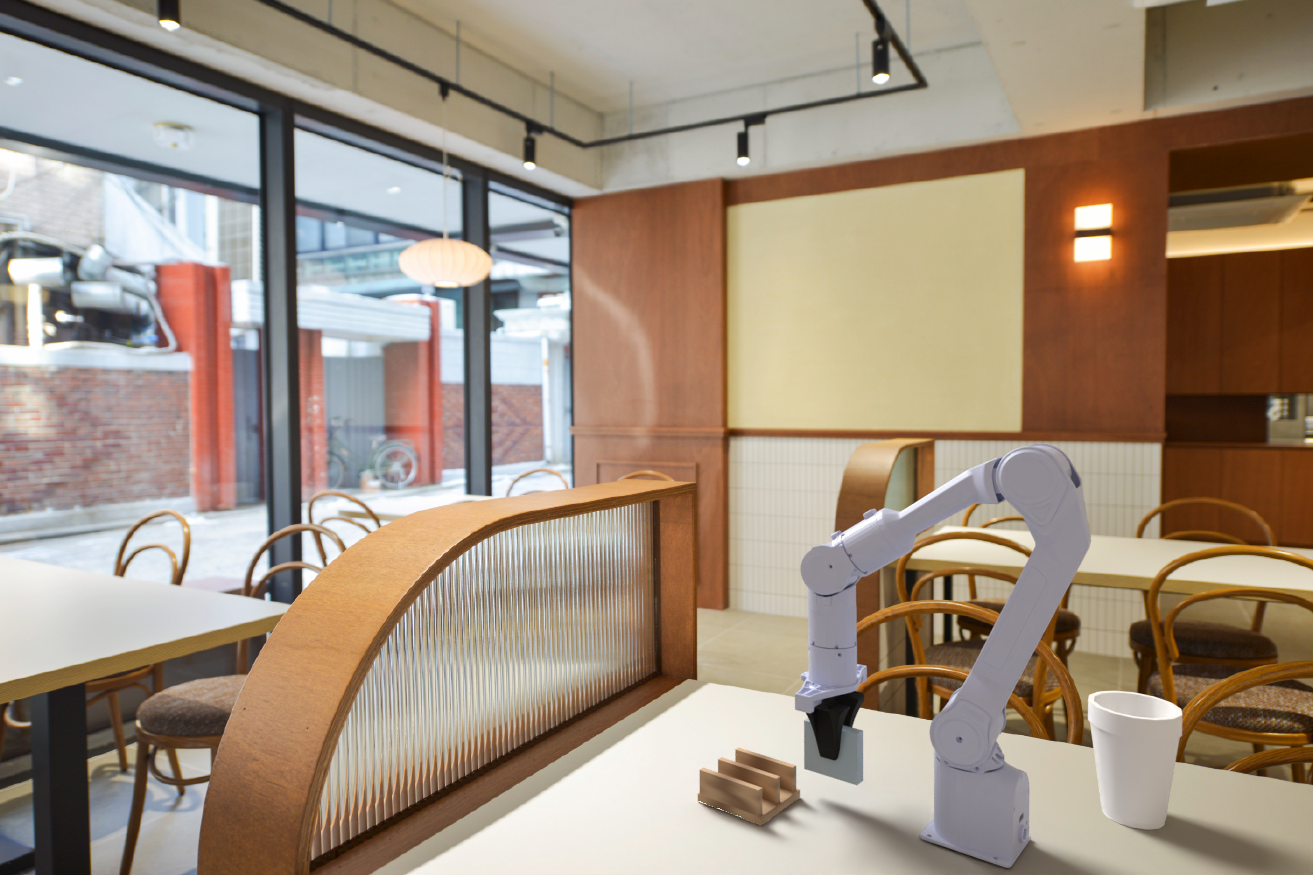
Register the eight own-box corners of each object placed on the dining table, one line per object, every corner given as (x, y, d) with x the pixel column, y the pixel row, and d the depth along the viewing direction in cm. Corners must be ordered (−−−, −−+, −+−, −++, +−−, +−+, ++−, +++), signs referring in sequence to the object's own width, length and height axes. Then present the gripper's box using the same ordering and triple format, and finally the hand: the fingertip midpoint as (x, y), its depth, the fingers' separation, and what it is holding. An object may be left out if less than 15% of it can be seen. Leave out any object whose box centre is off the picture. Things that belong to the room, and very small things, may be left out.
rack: (800, 797, 98) (800, 764, 98) (760, 825, 91) (760, 790, 91) (738, 776, 104) (738, 745, 104) (697, 801, 97) (697, 768, 97)
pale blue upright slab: (863, 780, 95) (863, 730, 95) (857, 785, 94) (857, 734, 94) (810, 764, 100) (810, 716, 99) (804, 768, 98) (804, 720, 98)
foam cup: (1068, 804, 96) (1069, 696, 96) (1125, 791, 99) (1126, 686, 99) (1141, 843, 87) (1142, 724, 87) (1201, 827, 90) (1202, 713, 90)
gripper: (831, 625, 105) (831, 728, 105) (771, 650, 93) (772, 765, 94) (882, 633, 100) (882, 741, 100) (826, 661, 89) (827, 782, 89)
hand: (833, 754), depth 97 cm, fingers closed on pale blue upright slab, 2 cm apart
